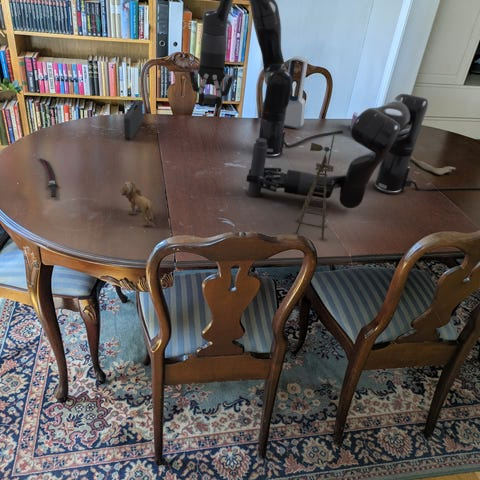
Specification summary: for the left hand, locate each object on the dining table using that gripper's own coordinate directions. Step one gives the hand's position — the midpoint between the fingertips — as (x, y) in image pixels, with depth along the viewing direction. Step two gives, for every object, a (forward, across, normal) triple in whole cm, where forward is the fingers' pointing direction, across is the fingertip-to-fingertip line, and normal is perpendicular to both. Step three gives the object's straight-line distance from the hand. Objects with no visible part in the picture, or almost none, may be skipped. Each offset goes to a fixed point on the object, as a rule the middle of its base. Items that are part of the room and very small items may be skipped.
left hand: (209, 106), depth 147 cm
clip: (+25, +58, +72) cm, 96 cm away
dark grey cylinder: (+25, +18, -5) cm, 31 cm away
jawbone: (+25, +84, +44) cm, 98 cm away
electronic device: (+25, +24, +69) cm, 77 cm away
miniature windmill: (+25, +37, -23) cm, 50 cm away
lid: (-3, 0, 0) cm, 3 cm away
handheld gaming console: (+26, -38, +34) cm, 57 cm away
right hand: (+19, +15, -5) cm, 25 cm away
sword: (+26, -49, -17) cm, 58 cm away
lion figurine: (+25, -12, -31) cm, 42 cm away
